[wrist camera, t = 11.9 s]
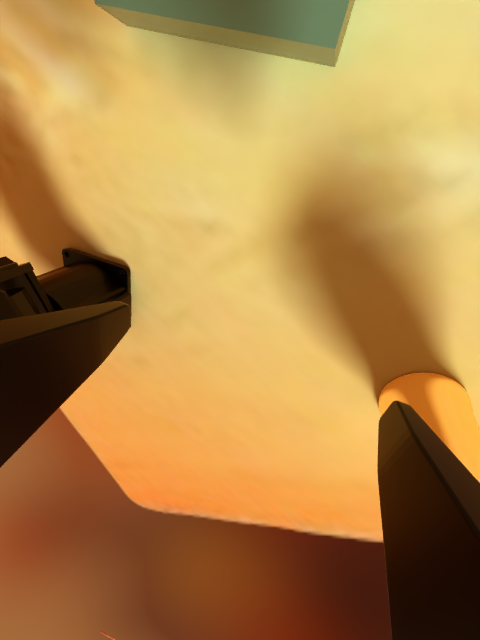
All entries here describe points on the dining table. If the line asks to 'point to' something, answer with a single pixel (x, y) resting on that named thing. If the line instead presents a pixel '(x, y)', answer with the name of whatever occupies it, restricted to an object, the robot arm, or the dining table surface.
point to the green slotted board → (246, 23)
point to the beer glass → (440, 412)
